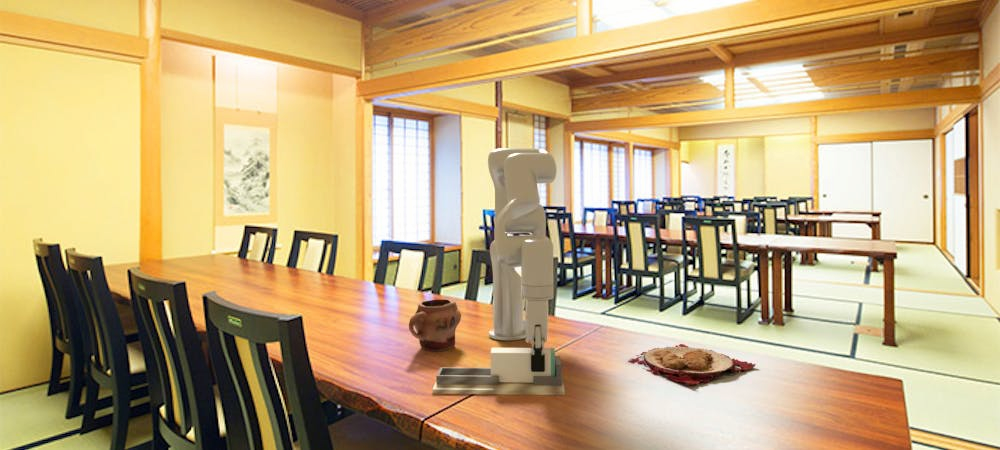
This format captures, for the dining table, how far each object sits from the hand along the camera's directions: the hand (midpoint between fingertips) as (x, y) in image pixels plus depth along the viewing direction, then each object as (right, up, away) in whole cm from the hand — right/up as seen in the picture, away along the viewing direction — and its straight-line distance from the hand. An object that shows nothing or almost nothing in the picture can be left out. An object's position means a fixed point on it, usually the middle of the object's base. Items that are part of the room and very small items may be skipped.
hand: (537, 367), depth 120 cm
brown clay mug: (-28, -3, +29) cm, 41 cm away
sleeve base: (-9, -4, +1) cm, 10 cm away
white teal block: (-3, -3, 0) cm, 5 cm away
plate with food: (+40, -4, +14) cm, 42 cm away
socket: (+2, -3, 0) cm, 4 cm away
